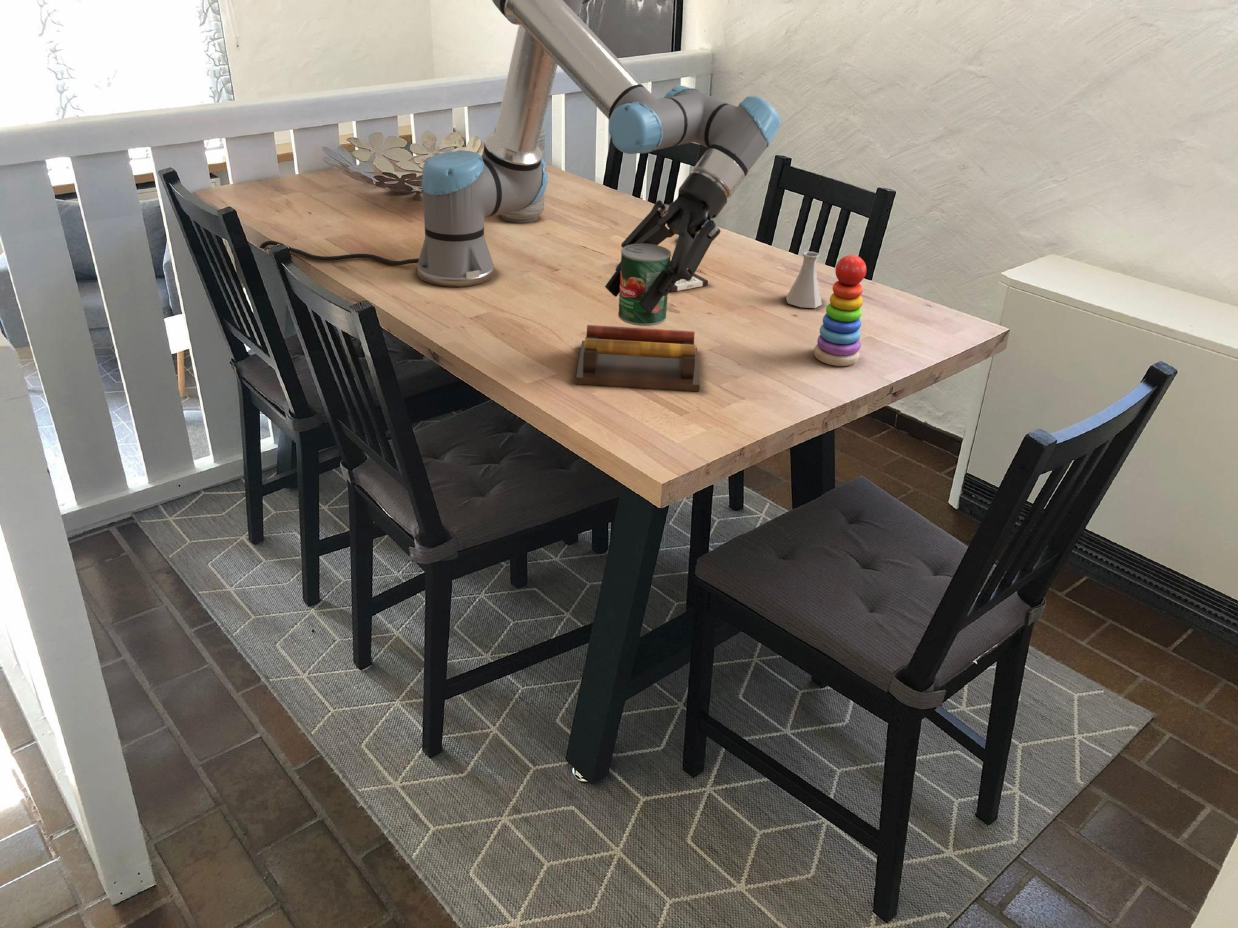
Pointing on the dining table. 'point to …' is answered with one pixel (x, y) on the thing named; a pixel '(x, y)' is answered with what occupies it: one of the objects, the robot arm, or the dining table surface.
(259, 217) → the dining table surface
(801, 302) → the flask
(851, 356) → the stacking toy
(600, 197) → the dining table surface
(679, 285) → the chocolate bar
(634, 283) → the canned tomato
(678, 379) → the rod stand
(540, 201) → the vase
